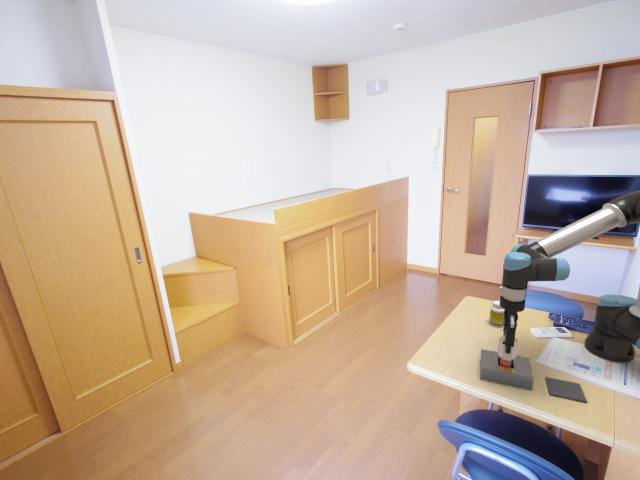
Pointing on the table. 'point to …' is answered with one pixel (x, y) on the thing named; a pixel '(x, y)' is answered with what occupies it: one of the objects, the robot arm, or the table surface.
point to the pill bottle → (496, 315)
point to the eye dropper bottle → (500, 348)
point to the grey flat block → (506, 370)
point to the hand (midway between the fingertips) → (506, 356)
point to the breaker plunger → (505, 363)
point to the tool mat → (565, 389)
